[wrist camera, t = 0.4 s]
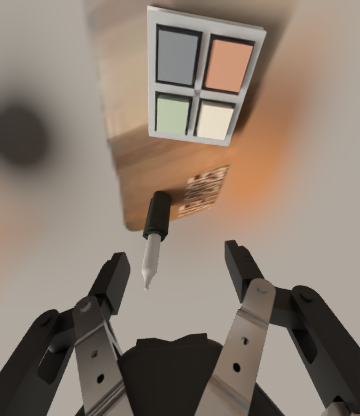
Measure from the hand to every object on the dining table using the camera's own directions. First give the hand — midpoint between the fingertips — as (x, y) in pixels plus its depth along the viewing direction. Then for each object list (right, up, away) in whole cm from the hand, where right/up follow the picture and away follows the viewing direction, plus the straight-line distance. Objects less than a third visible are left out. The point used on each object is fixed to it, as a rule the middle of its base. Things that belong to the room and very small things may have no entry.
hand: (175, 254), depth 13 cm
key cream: (+6, +20, +16) cm, 26 cm away
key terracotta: (+7, +25, +11) cm, 28 cm away
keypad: (+3, +25, +16) cm, 30 cm away
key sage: (-1, +21, +16) cm, 26 cm away
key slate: (0, +26, +11) cm, 28 cm away
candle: (-5, +6, +34) cm, 35 cm away
